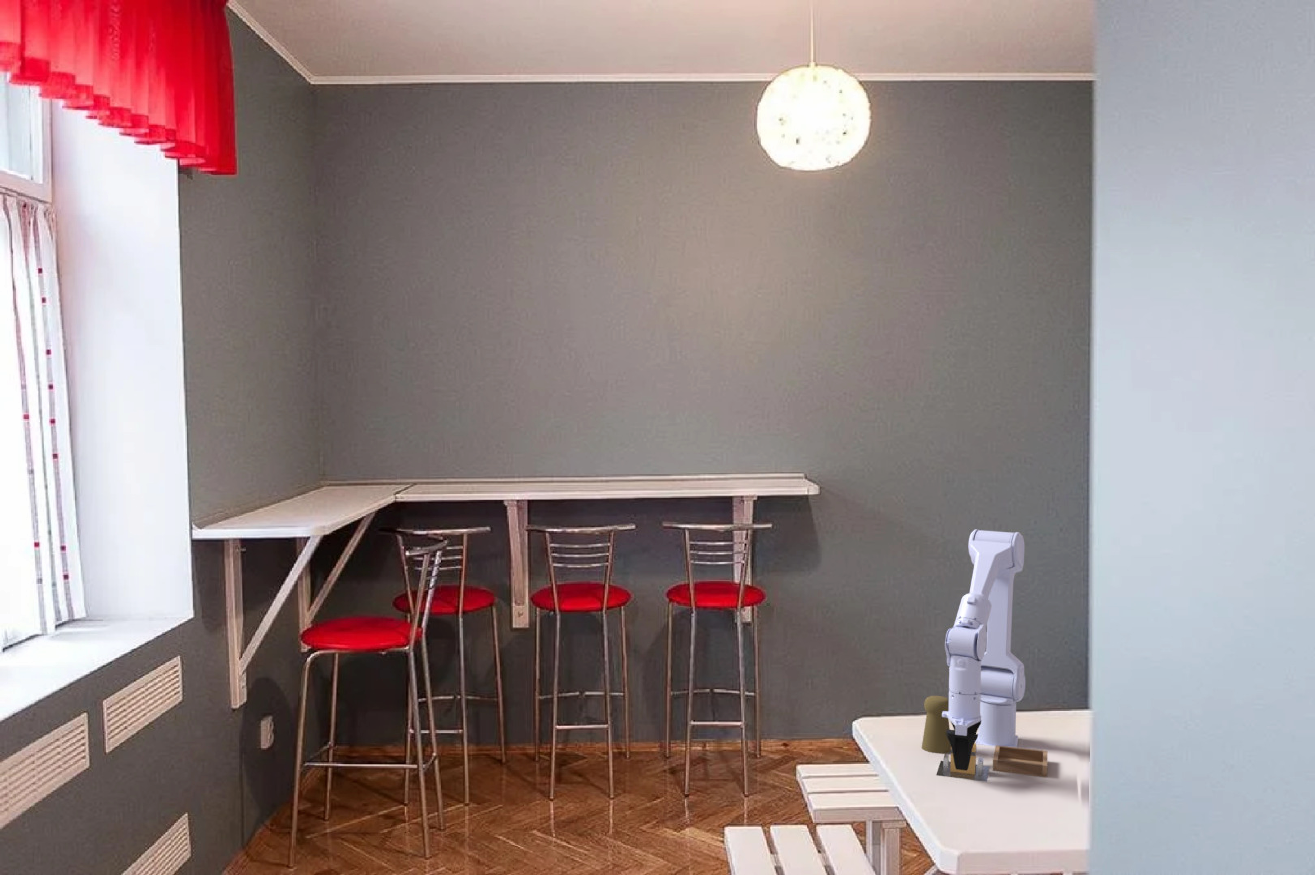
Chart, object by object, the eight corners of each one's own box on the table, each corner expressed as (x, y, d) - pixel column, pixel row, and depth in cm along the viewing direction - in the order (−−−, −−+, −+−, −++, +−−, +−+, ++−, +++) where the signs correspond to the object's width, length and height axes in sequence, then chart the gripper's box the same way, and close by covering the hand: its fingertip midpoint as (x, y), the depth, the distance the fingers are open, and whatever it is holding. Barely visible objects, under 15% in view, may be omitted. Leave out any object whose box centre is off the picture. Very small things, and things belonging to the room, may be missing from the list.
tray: (995, 758, 216) (995, 745, 216) (1047, 764, 213) (1047, 751, 213) (992, 773, 207) (992, 760, 207) (1046, 780, 204) (1047, 766, 204)
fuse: (951, 767, 209) (951, 740, 209) (976, 769, 207) (976, 743, 207) (950, 771, 206) (950, 745, 206) (975, 774, 205) (975, 747, 205)
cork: (953, 757, 217) (954, 701, 216) (921, 755, 218) (922, 699, 218) (951, 748, 223) (952, 694, 222) (920, 746, 224) (921, 692, 223)
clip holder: (940, 763, 213) (941, 748, 213) (989, 769, 210) (989, 753, 209) (936, 778, 204) (936, 762, 204) (986, 784, 201) (987, 768, 201)
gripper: (946, 680, 215) (945, 749, 215) (938, 698, 201) (937, 772, 201) (984, 683, 212) (982, 753, 213) (979, 702, 199) (977, 777, 199)
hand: (963, 763), depth 207 cm, fingers open, 7 cm apart
